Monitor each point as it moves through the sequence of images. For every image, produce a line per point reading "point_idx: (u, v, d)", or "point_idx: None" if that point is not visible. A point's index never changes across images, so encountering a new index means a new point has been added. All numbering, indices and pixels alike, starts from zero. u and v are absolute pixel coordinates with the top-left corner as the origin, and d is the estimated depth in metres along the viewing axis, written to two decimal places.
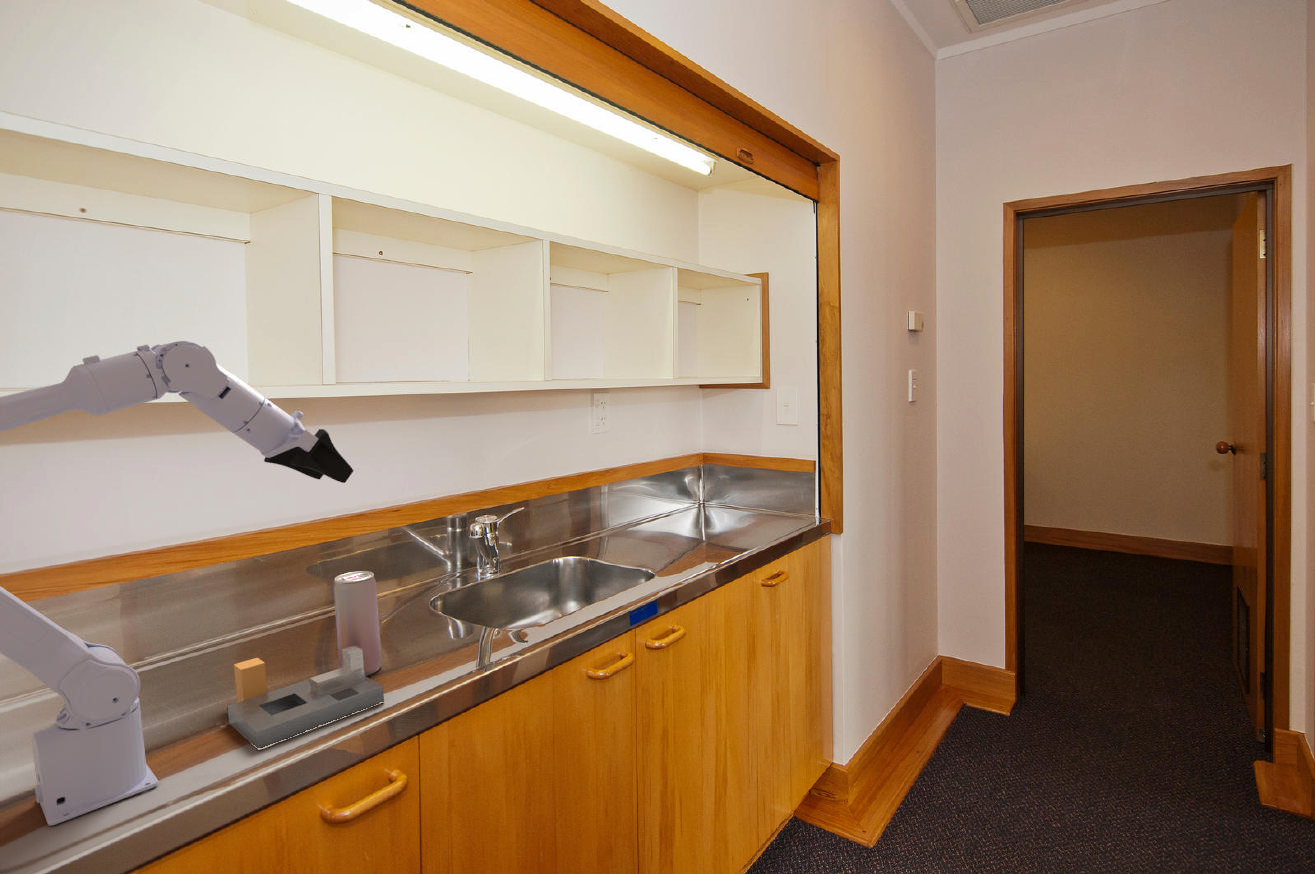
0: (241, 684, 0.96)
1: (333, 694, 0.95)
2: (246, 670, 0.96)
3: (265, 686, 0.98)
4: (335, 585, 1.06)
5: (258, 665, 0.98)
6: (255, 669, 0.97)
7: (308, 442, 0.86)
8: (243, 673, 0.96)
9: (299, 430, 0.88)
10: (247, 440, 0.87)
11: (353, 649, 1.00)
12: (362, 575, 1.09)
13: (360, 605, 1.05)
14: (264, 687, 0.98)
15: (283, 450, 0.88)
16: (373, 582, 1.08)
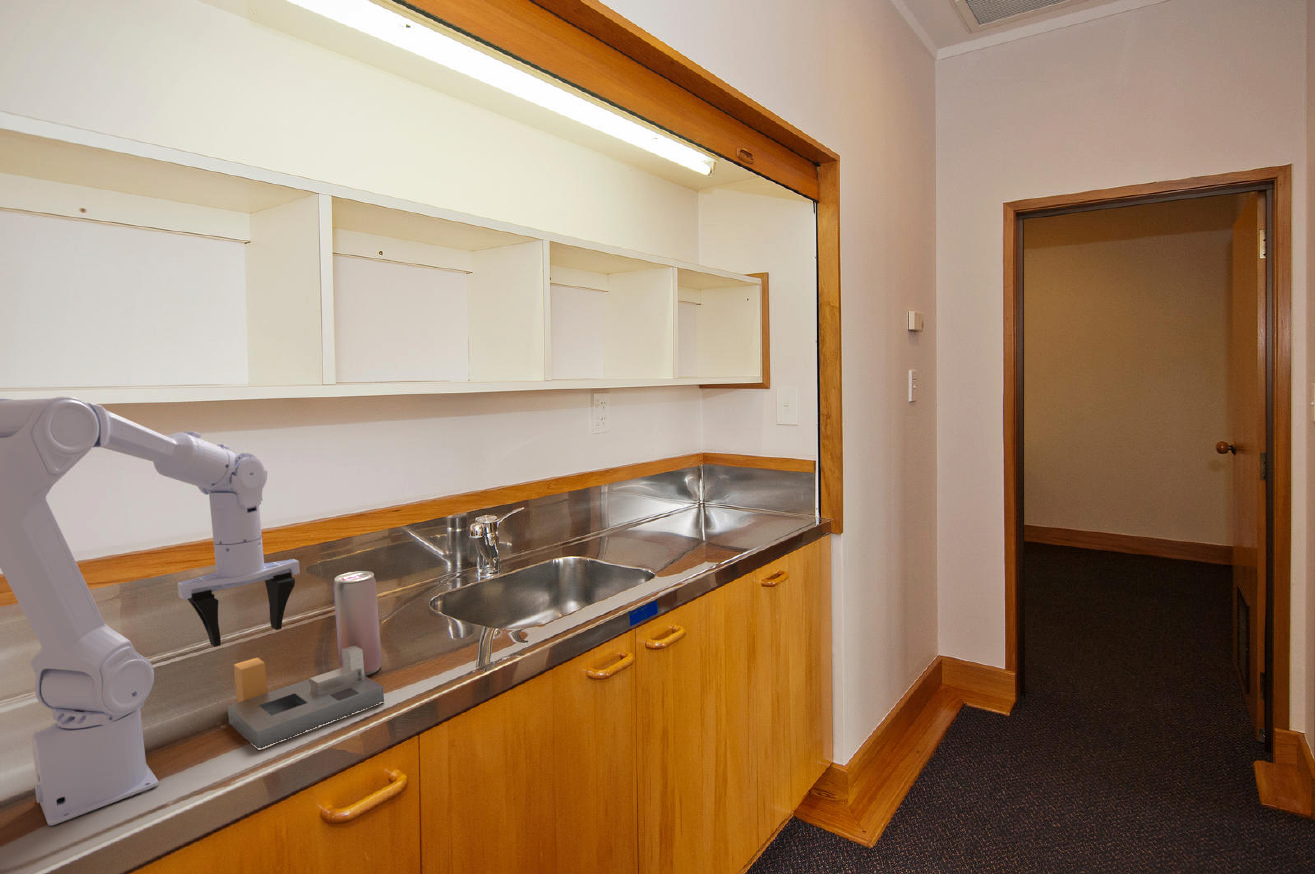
0: (241, 684, 0.96)
1: (333, 694, 0.95)
2: (246, 670, 0.96)
3: (265, 686, 0.98)
4: (335, 585, 1.06)
5: (258, 665, 0.98)
6: (255, 669, 0.97)
7: None
8: (243, 673, 0.96)
9: None
10: (250, 554, 0.95)
11: (353, 649, 1.00)
12: (362, 575, 1.09)
13: (360, 605, 1.05)
14: (264, 687, 0.98)
15: (274, 571, 0.98)
16: (373, 582, 1.08)
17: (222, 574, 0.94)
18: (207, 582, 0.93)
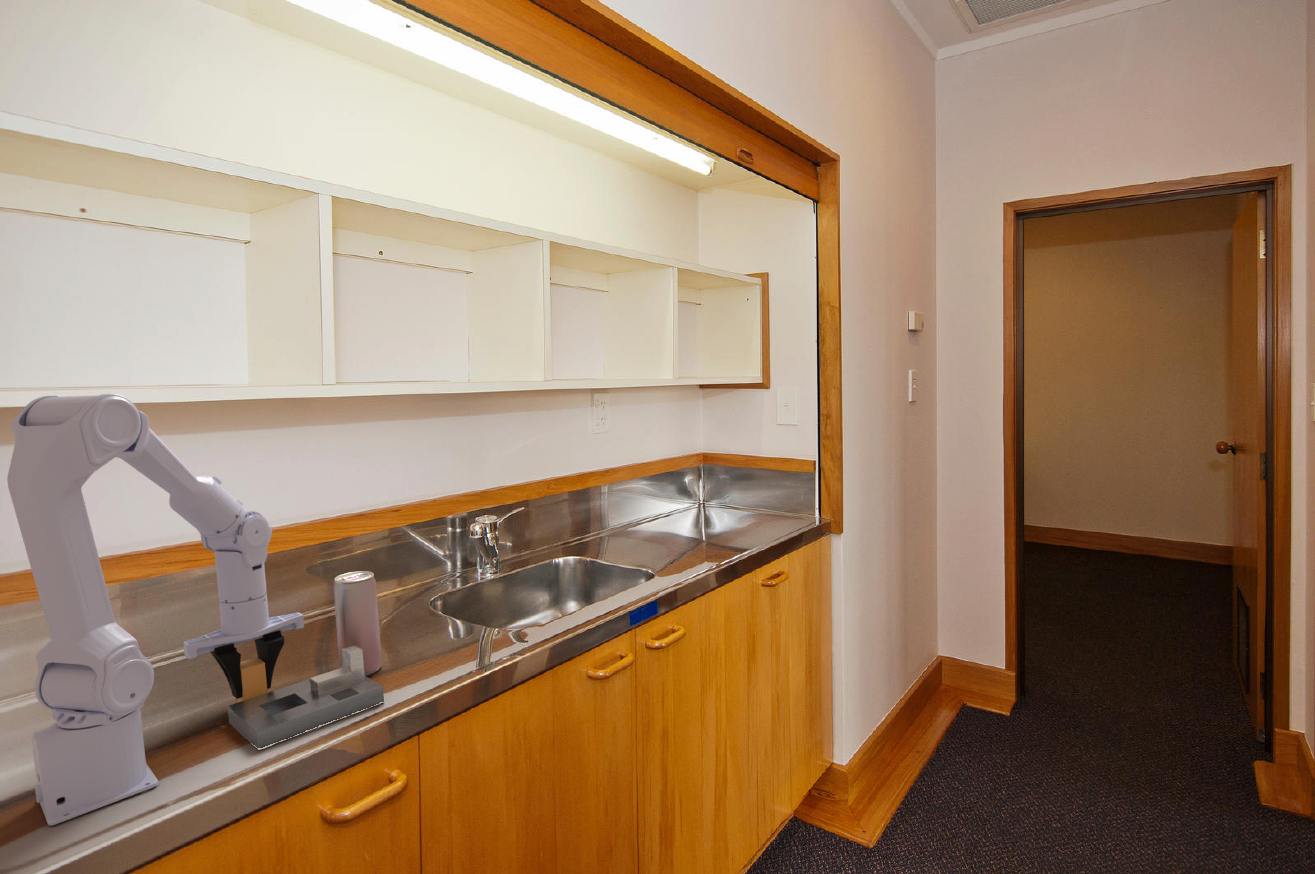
0: None
1: (333, 694, 0.95)
2: (246, 670, 0.96)
3: (265, 686, 0.98)
4: (335, 585, 1.06)
5: (258, 665, 0.98)
6: (255, 669, 0.97)
7: None
8: (243, 673, 0.96)
9: None
10: (256, 612, 0.96)
11: (353, 649, 1.00)
12: (362, 575, 1.09)
13: (360, 605, 1.05)
14: (264, 687, 0.98)
15: (279, 626, 0.99)
16: (373, 582, 1.08)
17: (227, 632, 0.95)
18: (213, 641, 0.93)
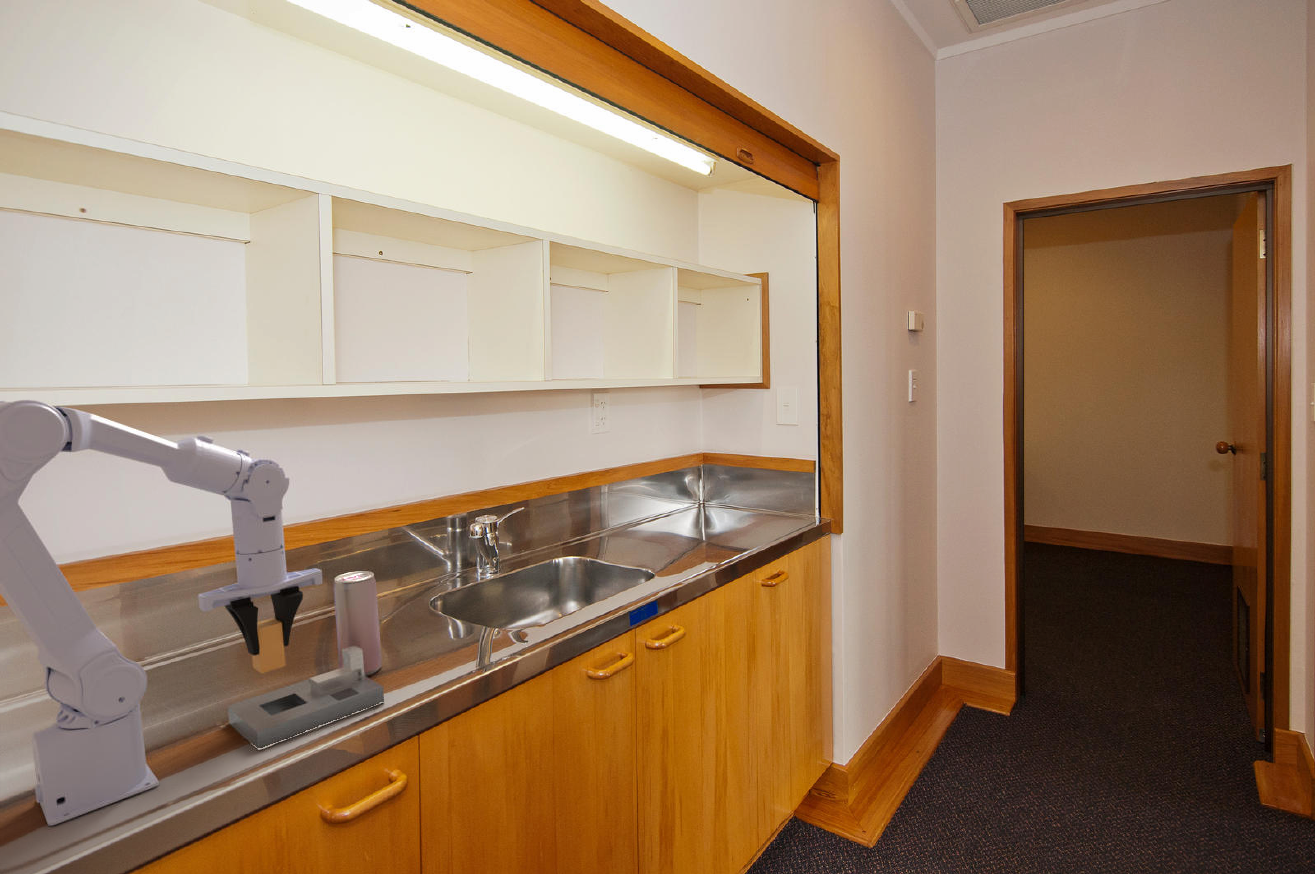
0: None
1: (333, 694, 0.95)
2: (262, 630, 0.92)
3: (282, 647, 0.94)
4: (335, 585, 1.06)
5: (275, 625, 0.94)
6: (272, 629, 0.93)
7: None
8: (259, 632, 0.92)
9: (297, 573, 0.97)
10: (274, 564, 0.92)
11: (353, 649, 1.00)
12: (362, 575, 1.09)
13: (360, 605, 1.05)
14: (281, 648, 0.94)
15: (297, 581, 0.95)
16: (373, 582, 1.08)
17: (244, 585, 0.90)
18: (229, 593, 0.89)
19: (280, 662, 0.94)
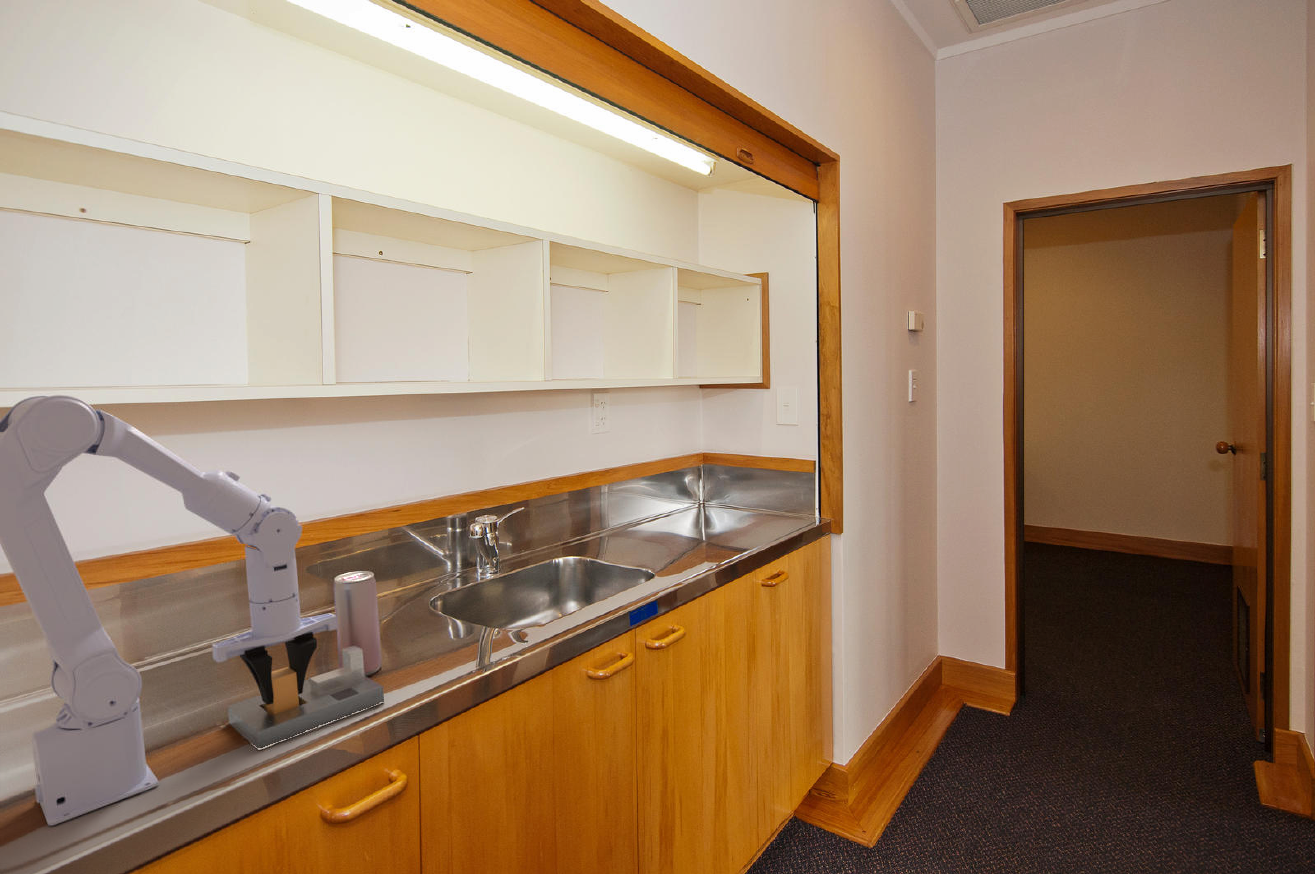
0: None
1: (333, 694, 0.95)
2: (277, 680, 0.91)
3: (296, 697, 0.93)
4: (335, 585, 1.06)
5: (290, 675, 0.92)
6: (287, 679, 0.92)
7: None
8: (274, 683, 0.91)
9: None
10: (288, 612, 0.90)
11: (353, 649, 1.00)
12: (362, 575, 1.09)
13: (360, 605, 1.05)
14: (295, 698, 0.93)
15: (312, 628, 0.94)
16: (373, 582, 1.08)
17: (258, 634, 0.89)
18: (243, 643, 0.88)
19: None
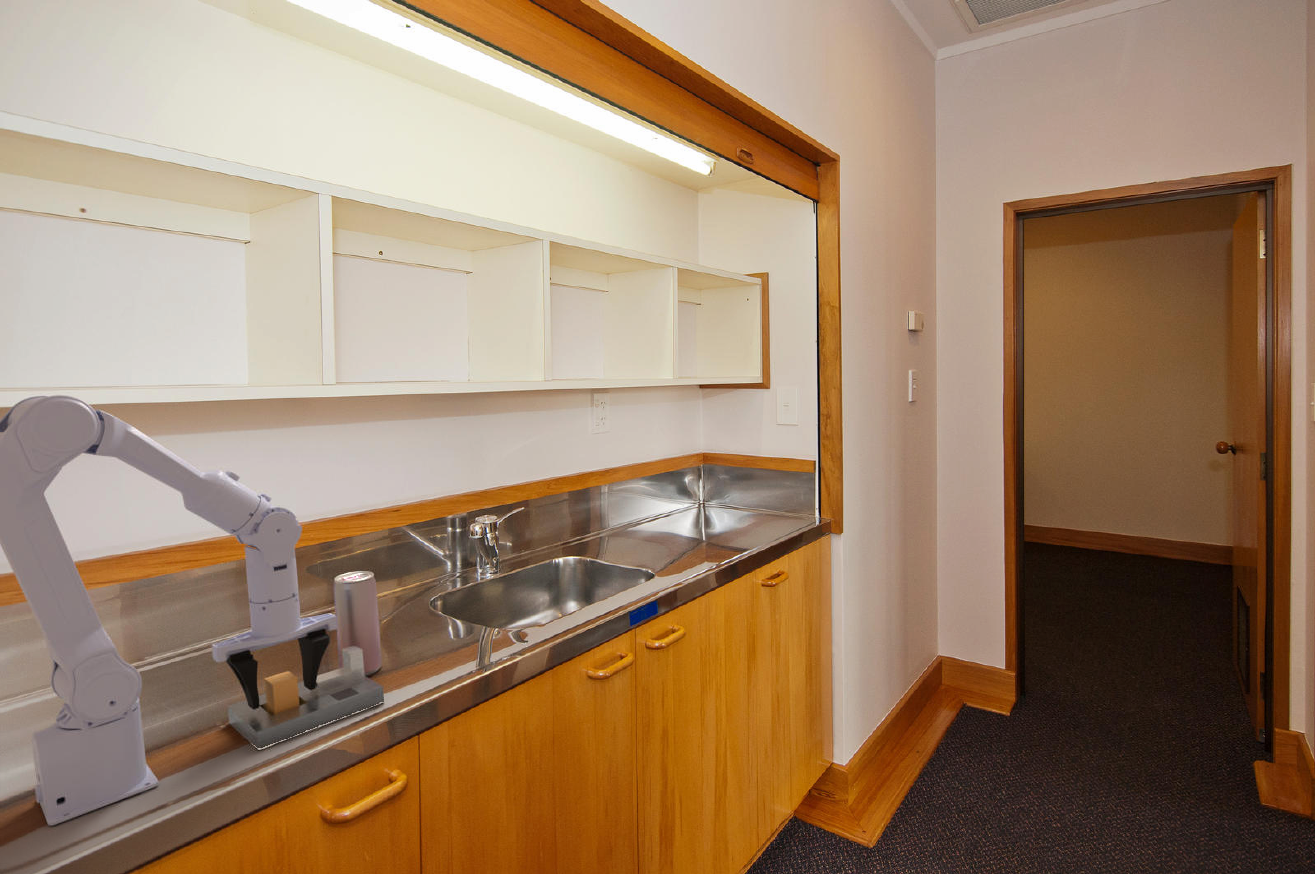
0: (273, 699, 0.91)
1: (333, 694, 0.95)
2: (278, 685, 0.91)
3: (297, 701, 0.93)
4: (335, 585, 1.06)
5: (291, 679, 0.92)
6: (287, 683, 0.92)
7: None
8: (275, 688, 0.91)
9: None
10: (288, 612, 0.90)
11: (353, 649, 1.00)
12: (362, 575, 1.09)
13: (360, 605, 1.05)
14: (296, 702, 0.93)
15: (311, 628, 0.94)
16: (373, 582, 1.08)
17: (258, 634, 0.89)
18: (243, 643, 0.88)
19: None
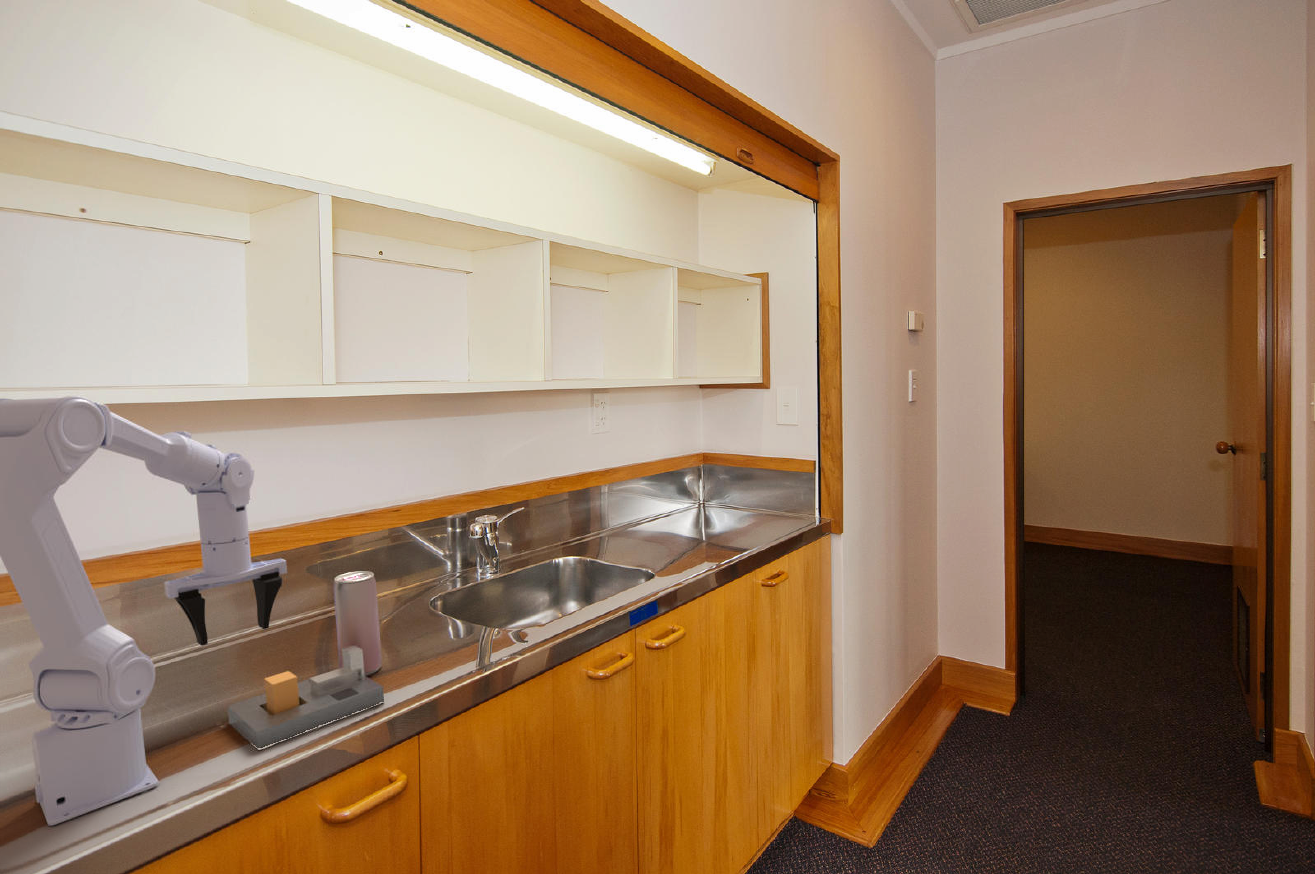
0: (273, 699, 0.91)
1: (333, 694, 0.95)
2: (278, 685, 0.91)
3: (297, 701, 0.93)
4: (335, 585, 1.06)
5: (291, 679, 0.92)
6: (287, 683, 0.92)
7: None
8: (275, 688, 0.91)
9: None
10: (237, 553, 0.96)
11: (353, 649, 1.00)
12: (362, 575, 1.09)
13: (360, 605, 1.05)
14: (296, 702, 0.93)
15: (261, 570, 0.99)
16: (373, 582, 1.08)
17: (209, 573, 0.95)
18: (194, 581, 0.93)
19: None
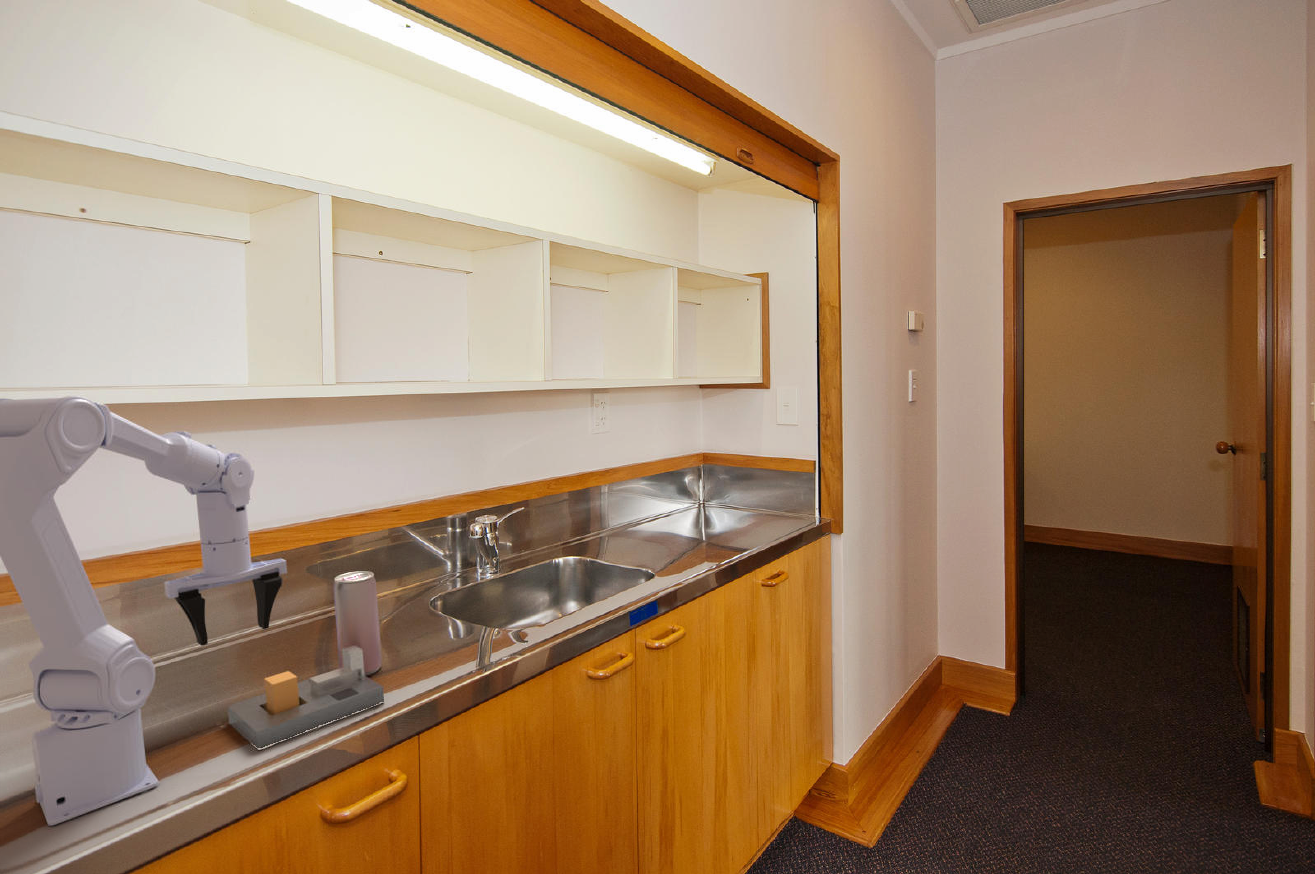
0: (273, 699, 0.91)
1: (333, 694, 0.95)
2: (278, 685, 0.91)
3: (297, 701, 0.93)
4: (335, 585, 1.06)
5: (291, 679, 0.92)
6: (287, 683, 0.92)
7: None
8: (275, 688, 0.91)
9: None
10: (237, 553, 0.96)
11: (353, 649, 1.00)
12: (362, 575, 1.09)
13: (360, 605, 1.05)
14: (296, 702, 0.93)
15: (261, 570, 0.99)
16: (373, 582, 1.08)
17: (209, 573, 0.95)
18: (194, 581, 0.93)
19: None
